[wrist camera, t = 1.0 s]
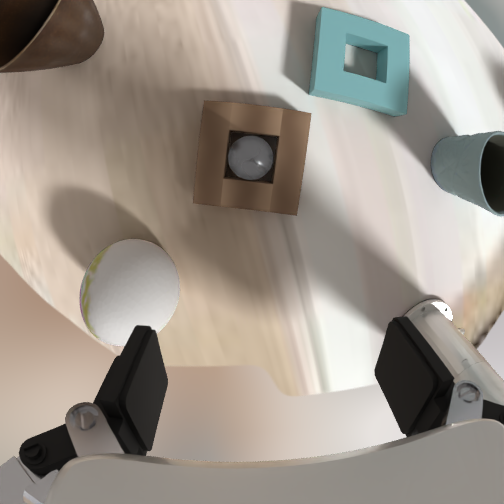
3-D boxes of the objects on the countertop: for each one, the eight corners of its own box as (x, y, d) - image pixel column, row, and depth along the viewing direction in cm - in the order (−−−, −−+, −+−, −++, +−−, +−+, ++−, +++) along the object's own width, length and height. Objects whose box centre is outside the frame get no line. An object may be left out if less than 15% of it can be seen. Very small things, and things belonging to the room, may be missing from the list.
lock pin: (269, 142, 33) (275, 138, 24) (265, 174, 35) (270, 182, 25) (237, 138, 33) (230, 133, 24) (233, 170, 35) (225, 177, 25)
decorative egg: (103, 230, 37) (41, 271, 23) (183, 228, 37) (144, 275, 23) (117, 306, 41) (73, 365, 27) (191, 309, 41) (166, 380, 27)
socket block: (398, 42, 28) (409, 35, 24) (394, 116, 32) (406, 114, 28) (316, 17, 27) (322, 6, 24) (308, 94, 31) (314, 89, 28)
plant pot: (46, 101, 30) (-29, 95, 15) (48, 26, 25) (-13, 2, 10) (128, 66, 30) (61, 30, 15) (126, -11, 25) (78, -61, 10)
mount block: (305, 116, 32) (311, 113, 29) (292, 209, 36) (296, 215, 33) (208, 105, 32) (204, 100, 29) (198, 198, 36) (193, 203, 33)
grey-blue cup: (465, 204, 35) (516, 224, 24) (418, 187, 35) (471, 204, 24) (476, 144, 32) (529, 150, 21) (430, 120, 32) (485, 117, 20)
